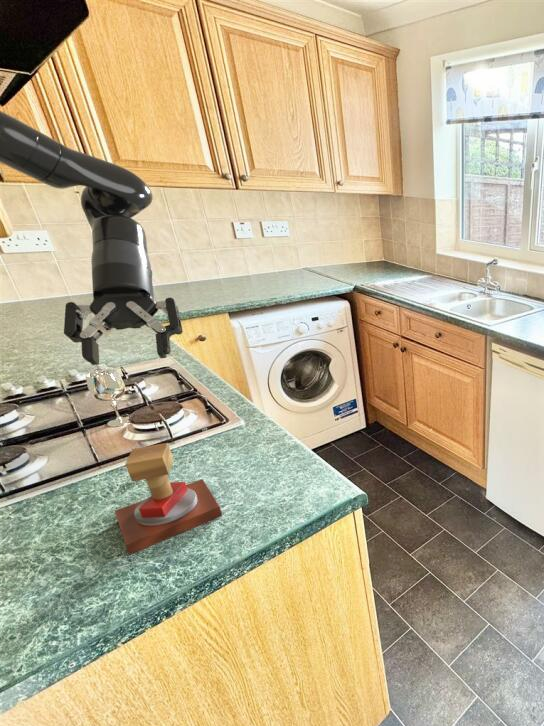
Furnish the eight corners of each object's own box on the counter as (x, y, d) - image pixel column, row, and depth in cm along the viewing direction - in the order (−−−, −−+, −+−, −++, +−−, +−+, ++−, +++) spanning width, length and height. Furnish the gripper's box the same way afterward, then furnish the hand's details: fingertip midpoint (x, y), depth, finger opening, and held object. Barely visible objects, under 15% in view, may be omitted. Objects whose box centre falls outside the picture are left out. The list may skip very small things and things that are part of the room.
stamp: (180, 524, 65) (160, 467, 61) (123, 527, 64) (98, 469, 60) (207, 491, 73) (190, 438, 68) (155, 493, 71) (135, 439, 67)
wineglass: (126, 427, 92) (107, 378, 87) (96, 428, 91) (75, 378, 86) (142, 414, 97) (125, 367, 92) (114, 415, 96) (95, 367, 91)
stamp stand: (129, 554, 62) (125, 545, 61) (118, 519, 68) (114, 510, 67) (222, 515, 70) (219, 506, 69) (205, 487, 76) (202, 478, 75)
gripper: (53, 261, 65) (55, 355, 61) (168, 259, 72) (177, 344, 67) (77, 288, 71) (80, 374, 67) (180, 284, 78) (189, 363, 74)
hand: (128, 359), depth 67 cm, fingers open, 8 cm apart
